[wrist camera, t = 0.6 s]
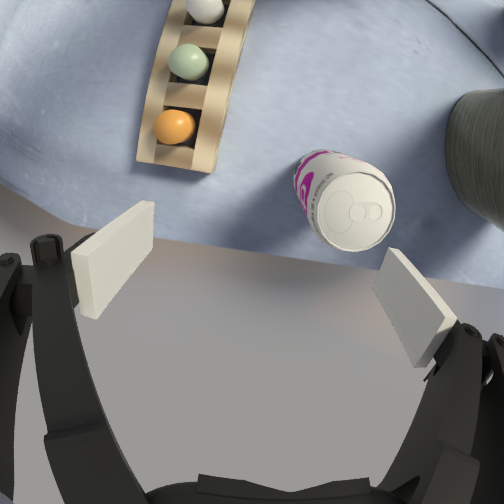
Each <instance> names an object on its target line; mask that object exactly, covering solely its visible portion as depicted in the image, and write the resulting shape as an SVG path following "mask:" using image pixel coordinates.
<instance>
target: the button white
mask: <svg viewBox="0 0 504 504" xmlns="http://www.w3.org/2000/svg"><path fill="white" fill-rule="evenodd" d="M185 7H186V9H187V10H188V12H189V13H190V14H191V16H192V17H193V19H194V20H195V21H196V22H198V23H200V24H211V23H214V22H216V21H218V20H219V19H220V18H221V17H222V16H223V14H224V6H223V3H222V1H221V0H186V2H185Z"/></svg>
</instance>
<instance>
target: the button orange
mask: <svg viewBox="0 0 504 504" xmlns="http://www.w3.org/2000/svg"><path fill="white" fill-rule="evenodd" d="M195 127H196V125H195V120H194V118H193V117H192V116H191V115H190V114H189V113H187V112H184V111H178V110H167V111H164V112H162V113H161V114H160V115H159V116H158V117H157V119H156V121H155V123H154V133H155V136H156V137H157V139H158V140H159V141H160V142H162V143H164V144H169V145H171V144H177V143H182V142H185V141H187V140H189V139H190V138H191V137H192V136H193V134H194V132H195Z"/></svg>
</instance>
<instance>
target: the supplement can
mask: <svg viewBox="0 0 504 504" xmlns="http://www.w3.org/2000/svg"><path fill="white" fill-rule="evenodd" d="M293 187H294V189H295V192H296V194H297V197H298V199H299V201H300V203H301V205H302V208H303V210H304V212H305V214H306V217H307V219H308V221H309V223H310V226H311V228H312V230H313V232H314V233H315V234H316V235H317V236H318V238H319V239H320V240H321V241H322V242H323V243H325V244H327V245H328V246H330V247H332V248H334V249H337V250H344V251H351V252H358V251H363V250H367V249H370V248H371V247H373V246H375V245H376V244H378V243H380V242H381V241H382V240H383V238H384V237H385V236H386V235H387V234H388V233H389V231H390V229H391V226H392V224H393V222H394V220H395V210H396V205H395V198H394V194H393V190H392V186H391V184H390V183H389V181H388V180H387V178H386V177H385V175H384V174H383V173H382V172H381V171H379V170H378V169H377V168H375V167H374V166H372V165H371V164H369V163H366V162H364V161H361V160H358V159H356V158H353V157H350V156H348V155H345V154H342V153H339V152H336V151H332V150H327V149H321V150H315V151H312V152H310V153H309V154H307V155H305V156H304V157H303V158H302V159H301V160H300V162H299V163H298V164H297V166H296V169H295V171H294V174H293Z"/></svg>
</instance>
